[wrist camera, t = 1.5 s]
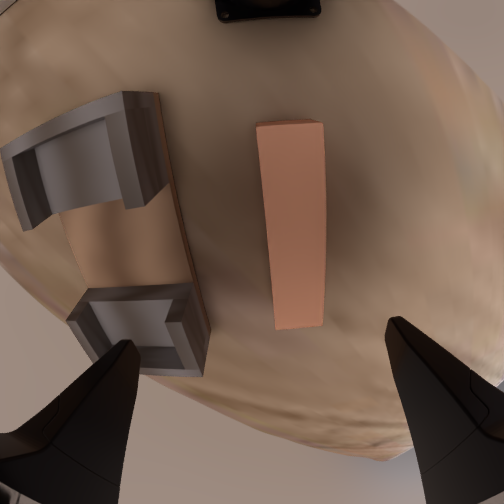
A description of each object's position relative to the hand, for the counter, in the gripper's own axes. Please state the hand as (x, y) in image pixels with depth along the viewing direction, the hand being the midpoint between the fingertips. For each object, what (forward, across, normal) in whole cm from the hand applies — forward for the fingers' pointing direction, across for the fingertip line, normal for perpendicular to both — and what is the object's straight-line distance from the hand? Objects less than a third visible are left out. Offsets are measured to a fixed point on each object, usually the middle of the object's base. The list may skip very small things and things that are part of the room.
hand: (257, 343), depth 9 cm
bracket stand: (+12, +11, +1) cm, 16 cm away
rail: (+13, -2, +1) cm, 13 cm away
